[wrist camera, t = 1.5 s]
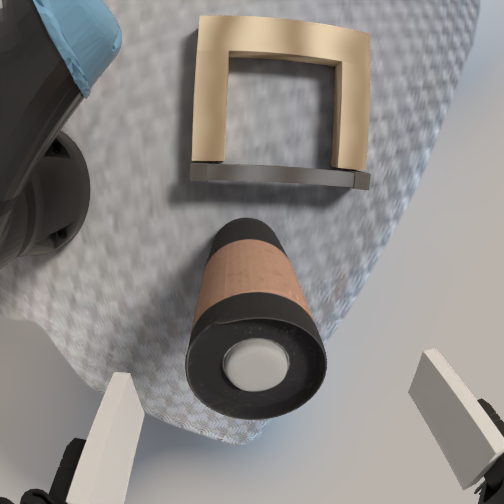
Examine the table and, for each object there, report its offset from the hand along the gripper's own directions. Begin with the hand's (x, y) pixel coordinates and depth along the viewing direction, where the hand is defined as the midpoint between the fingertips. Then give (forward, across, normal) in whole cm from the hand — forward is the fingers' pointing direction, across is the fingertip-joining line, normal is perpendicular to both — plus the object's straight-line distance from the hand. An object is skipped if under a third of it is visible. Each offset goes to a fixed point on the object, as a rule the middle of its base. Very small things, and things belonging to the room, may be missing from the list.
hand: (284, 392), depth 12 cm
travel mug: (+23, -1, -2) cm, 23 cm away
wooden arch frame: (+23, +3, +14) cm, 27 cm away
